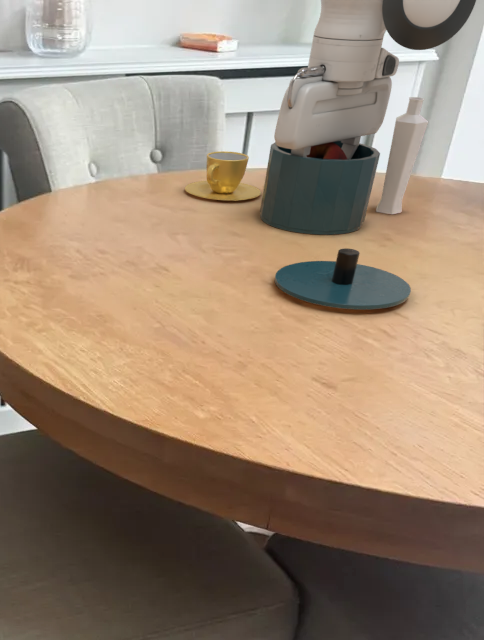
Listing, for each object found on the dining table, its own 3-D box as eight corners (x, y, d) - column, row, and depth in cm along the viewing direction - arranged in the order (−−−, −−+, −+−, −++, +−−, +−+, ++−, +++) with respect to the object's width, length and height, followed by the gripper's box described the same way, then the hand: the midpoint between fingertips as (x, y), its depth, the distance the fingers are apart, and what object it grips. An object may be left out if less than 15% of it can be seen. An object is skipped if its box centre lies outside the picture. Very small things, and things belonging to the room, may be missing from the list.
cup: (210, 179, 146) (214, 144, 142) (274, 192, 140) (280, 155, 136) (169, 193, 138) (173, 156, 135) (235, 207, 132) (241, 168, 129)
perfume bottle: (404, 216, 130) (434, 102, 121) (373, 213, 131) (401, 99, 122) (404, 208, 133) (434, 97, 124) (374, 205, 134) (401, 94, 125)
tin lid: (434, 295, 103) (446, 256, 100) (356, 325, 96) (367, 283, 93) (325, 261, 113) (333, 224, 110) (246, 286, 105) (253, 246, 102)
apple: (277, 199, 127) (288, 138, 122) (315, 192, 130) (326, 132, 125) (316, 211, 122) (329, 148, 117) (354, 203, 125) (367, 142, 120)
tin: (382, 223, 127) (400, 151, 121) (320, 241, 120) (336, 165, 114) (301, 201, 136) (314, 133, 130) (239, 217, 128) (250, 145, 123)
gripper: (313, 72, 108) (292, 191, 117) (407, 59, 118) (380, 170, 127) (273, 66, 112) (255, 182, 121) (367, 54, 122) (344, 162, 131)
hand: (320, 175), depth 124 cm, fingers closed on apple, 8 cm apart
